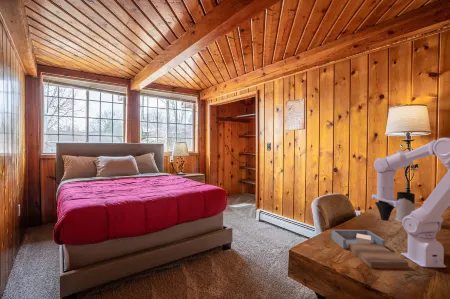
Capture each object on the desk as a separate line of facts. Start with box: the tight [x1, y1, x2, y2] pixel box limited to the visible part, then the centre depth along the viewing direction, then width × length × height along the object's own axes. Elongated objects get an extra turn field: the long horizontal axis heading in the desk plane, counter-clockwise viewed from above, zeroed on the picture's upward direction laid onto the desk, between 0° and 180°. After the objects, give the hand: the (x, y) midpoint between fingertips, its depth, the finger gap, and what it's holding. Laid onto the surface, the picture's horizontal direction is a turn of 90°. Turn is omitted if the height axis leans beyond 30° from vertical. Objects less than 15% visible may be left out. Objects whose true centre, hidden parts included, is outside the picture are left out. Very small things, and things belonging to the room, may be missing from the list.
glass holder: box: [394, 191, 416, 223], centre depth 125 cm, size 9×14×15 cm, turn 132°
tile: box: [356, 234, 371, 244], centre depth 94 cm, size 5×5×2 cm
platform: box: [348, 244, 409, 269], centre depth 82 cm, size 14×12×2 cm
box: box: [330, 229, 386, 250], centre depth 94 cm, size 11×16×4 cm
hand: (384, 220), depth 94 cm, fingers closed
